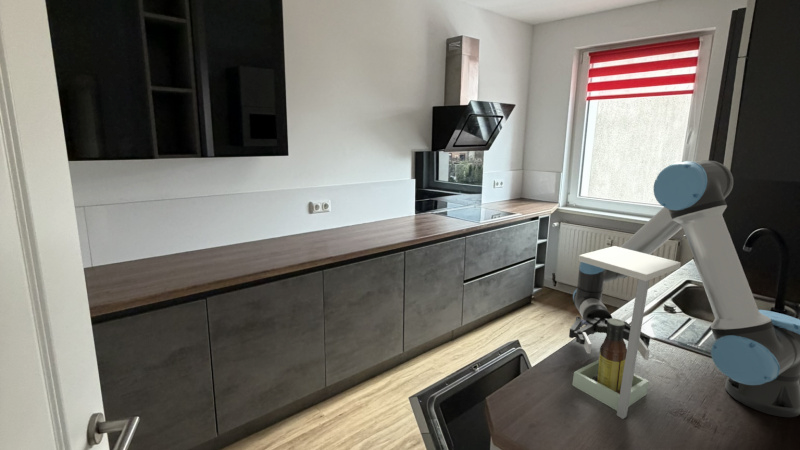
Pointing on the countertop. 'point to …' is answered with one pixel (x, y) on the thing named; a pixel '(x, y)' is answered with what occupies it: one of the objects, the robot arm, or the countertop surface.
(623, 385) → the c-shaped side table
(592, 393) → the frame
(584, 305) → the robot arm
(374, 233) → the countertop surface
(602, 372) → the sauce bottle
